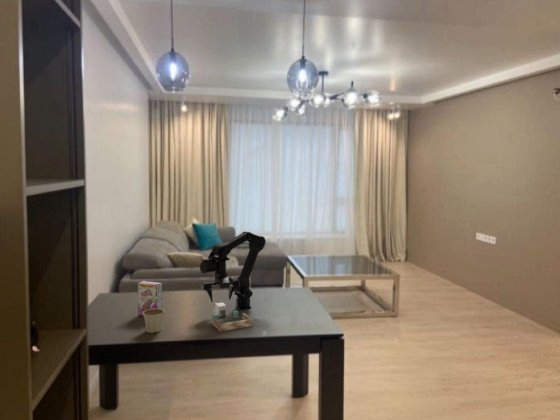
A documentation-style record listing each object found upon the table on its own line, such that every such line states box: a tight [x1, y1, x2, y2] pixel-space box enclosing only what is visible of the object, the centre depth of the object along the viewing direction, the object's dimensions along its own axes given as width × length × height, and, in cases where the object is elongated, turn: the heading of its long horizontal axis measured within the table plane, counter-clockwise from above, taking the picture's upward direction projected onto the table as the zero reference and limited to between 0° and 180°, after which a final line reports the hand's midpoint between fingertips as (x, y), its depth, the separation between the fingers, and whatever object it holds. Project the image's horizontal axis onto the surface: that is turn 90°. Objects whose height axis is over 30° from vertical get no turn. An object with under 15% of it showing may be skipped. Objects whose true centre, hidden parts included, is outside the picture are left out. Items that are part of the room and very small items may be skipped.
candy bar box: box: [137, 280, 163, 317], centre depth 213 cm, size 11×5×16 cm, turn 71°
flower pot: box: [142, 308, 165, 334], centre depth 192 cm, size 9×9×9 cm
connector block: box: [214, 302, 227, 317], centre depth 215 cm, size 4×7×5 cm, turn 26°
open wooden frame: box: [211, 312, 253, 332], centre depth 200 cm, size 16×10×3 cm, turn 116°
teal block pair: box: [212, 310, 239, 320], centre depth 208 cm, size 12×2×3 cm, turn 116°
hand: (220, 300), depth 215 cm, fingers open, 9 cm apart
